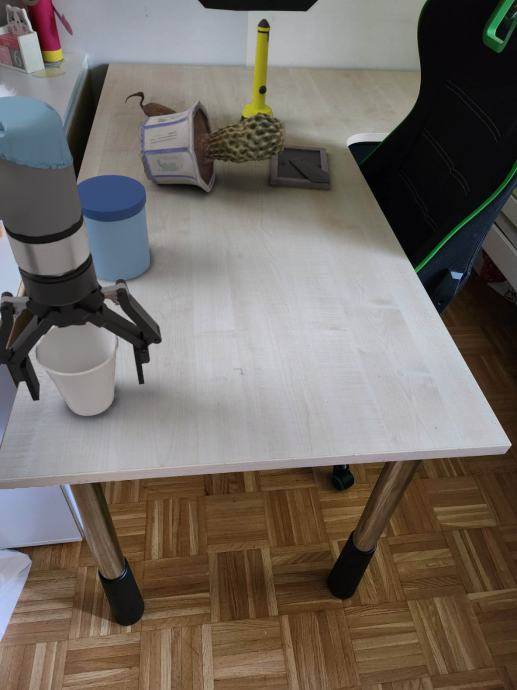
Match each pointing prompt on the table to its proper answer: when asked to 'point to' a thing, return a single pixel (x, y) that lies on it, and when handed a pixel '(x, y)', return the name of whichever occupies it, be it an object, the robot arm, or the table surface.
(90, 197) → the blue lidded canister
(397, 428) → the table surface
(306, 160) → the picture frame
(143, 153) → the potted plant
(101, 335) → the cup
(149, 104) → the figurine
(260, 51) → the flashlight
